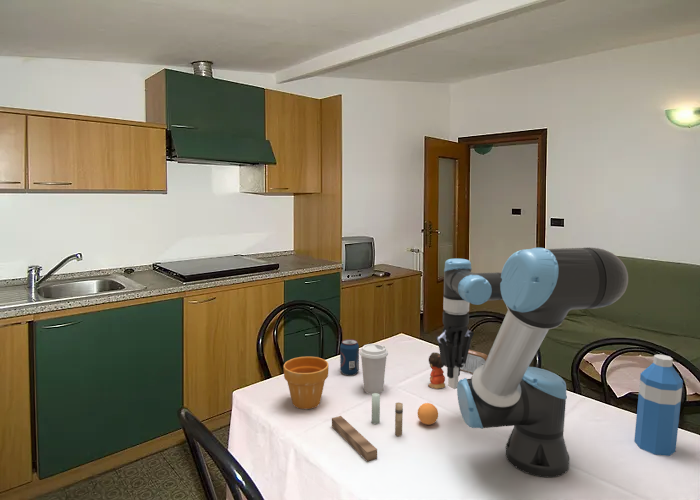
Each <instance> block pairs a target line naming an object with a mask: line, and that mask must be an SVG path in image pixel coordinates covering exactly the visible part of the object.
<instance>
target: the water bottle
mask: <svg viewBox="0 0 700 500" xmlns="http://www.w3.org/2000/svg"><path fill="white" fill-rule="evenodd" d="M652 361H653V362H652V363H651V364H650V365H649V366H648V367H646V368H645V369H644V370H643V371H642V372H640V376H639V377H640V378H639V384H638V385H639V387H638V388H639V389H638V397H637V399H638V400H637V409H636V419H635V420H636V421H635V429H634V430H635V432H634V439H633V440H634V443H635V444H636V446H638V448H639V449H641V450H643V451H645V452H648V453H650V454H652V455H656V456H657V455H658V456H667V457H670V456H672V455H673V454H675V452H677V451H676V450H677V441H678V431H679V422H680V412H681V402H682V393H683V386H684V385H683V383H684V381H683V379H682V378H681V376H680V375H679V373H678V372H677V371H676V369H675V368H674V367H673V361H674V358H672V357H671V356H669V355H665V354H658V353H657V354H654V355H653V360H652Z"/></svg>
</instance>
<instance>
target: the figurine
mask: <svg viewBox="0 0 700 500" xmlns="http://www.w3.org/2000/svg"><path fill="white" fill-rule="evenodd" d="M428 364H429V367H430V369H431V372H430V374H429V376H430V377H429V382H430V383H429V384H428V385H427V387H429V388H431V389H433V390H437V389H442V388H443V389H444V388H445V387H446V383H445V381H446V377H445V375H444V372H445V371H444V370H443V367H445V366H444V365H442V362H441V356H440V352H431V354H430V355H429V356H428Z"/></svg>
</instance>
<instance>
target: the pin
mask: <svg viewBox="0 0 700 500" xmlns="http://www.w3.org/2000/svg"><path fill="white" fill-rule="evenodd" d="M403 406H404V405H403V402H396V403H395V406H394V407H395V409H394V410H395V411H394V412H395V414H394V415H395V416H394V417H395V418H394V419H395V420H394V422H395V424H394V435H395V436H396V437H402V436H403V413H404V409H403Z"/></svg>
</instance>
